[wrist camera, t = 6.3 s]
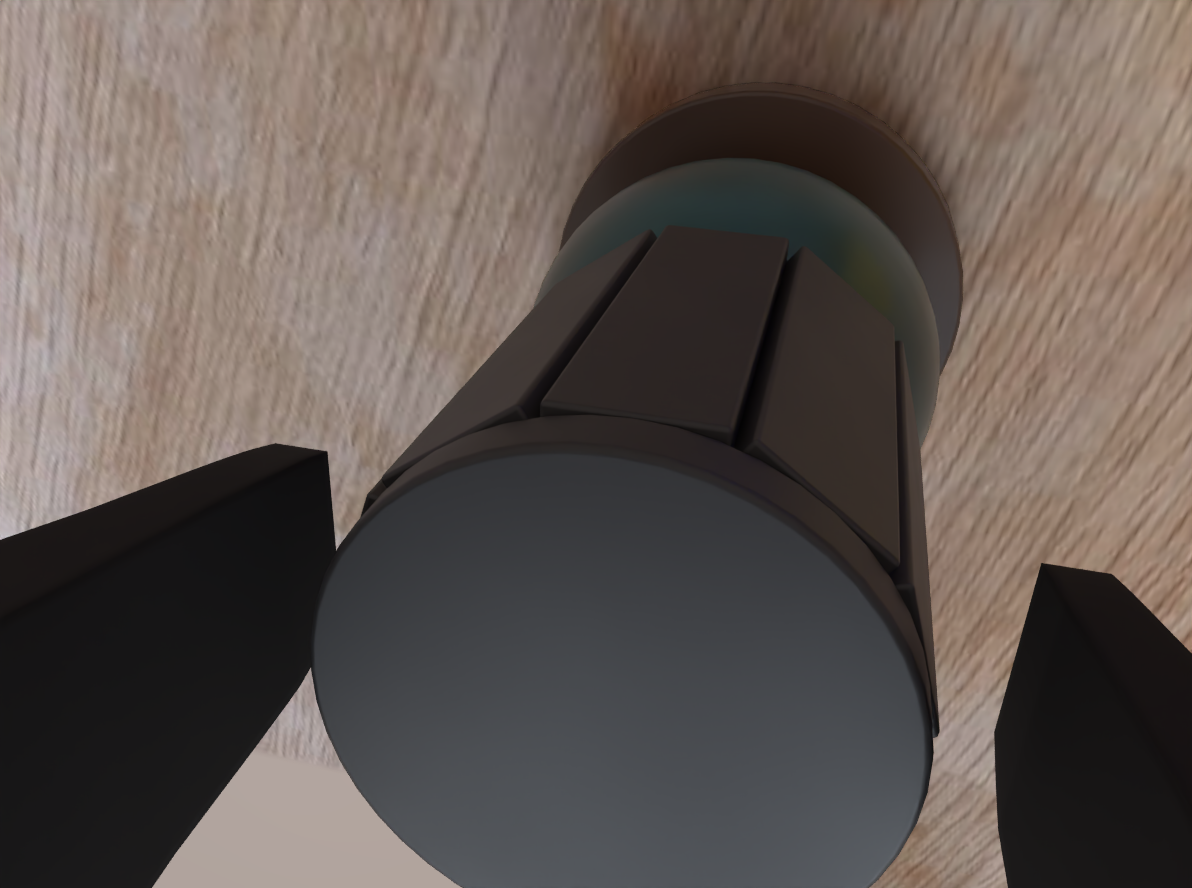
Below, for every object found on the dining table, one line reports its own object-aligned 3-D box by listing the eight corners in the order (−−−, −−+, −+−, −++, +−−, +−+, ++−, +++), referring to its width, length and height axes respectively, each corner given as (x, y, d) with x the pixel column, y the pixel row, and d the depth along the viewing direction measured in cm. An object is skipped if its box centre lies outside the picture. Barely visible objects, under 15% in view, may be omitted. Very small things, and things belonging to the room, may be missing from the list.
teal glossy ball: (919, 481, 20) (936, 729, 14) (564, 429, 21) (438, 635, 15) (998, 99, 17) (1064, 205, 11) (575, 67, 18) (418, 144, 12)
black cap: (882, 622, 14) (883, 1017, 9) (510, 556, 15) (320, 879, 10) (958, 255, 12) (1016, 509, 7) (513, 207, 13) (269, 396, 8)
